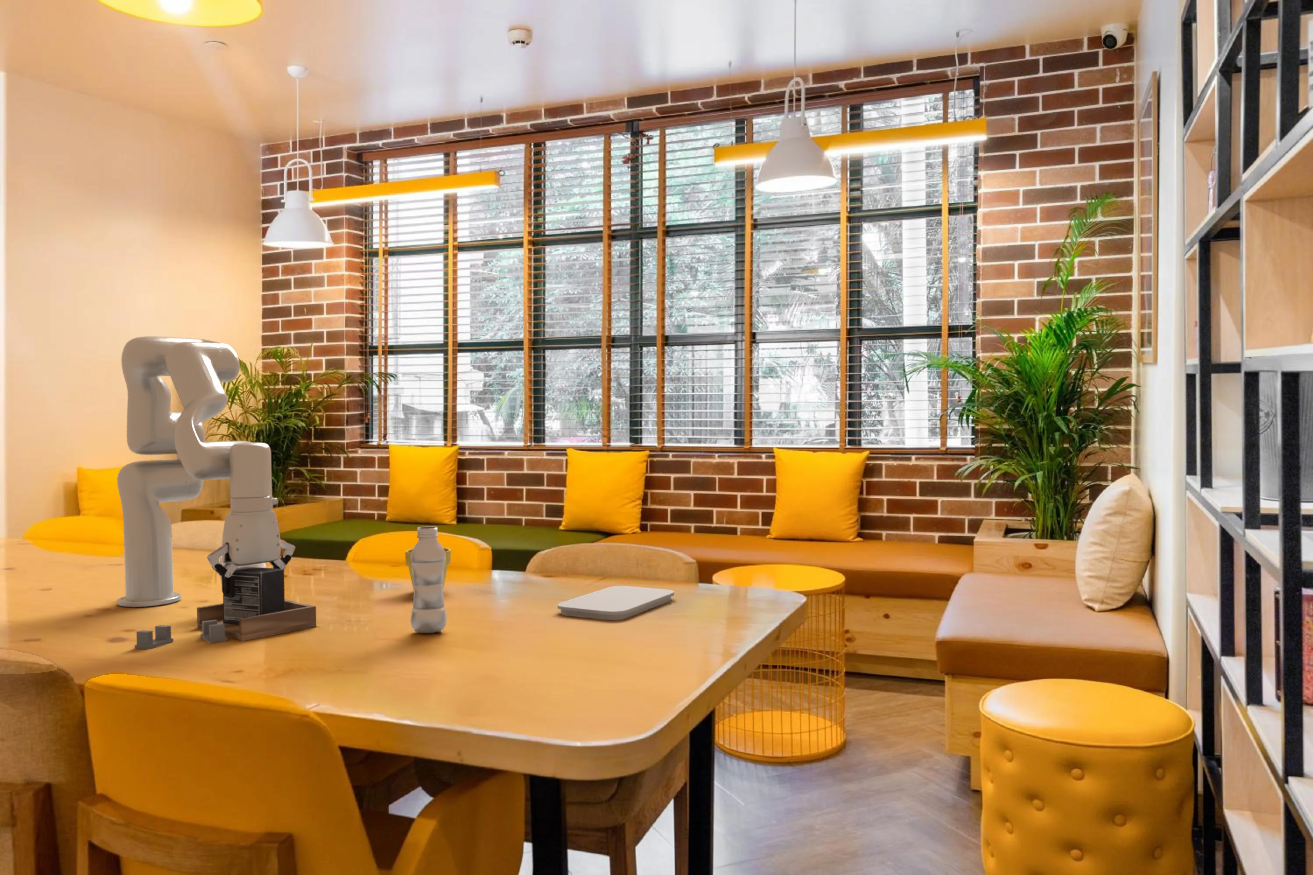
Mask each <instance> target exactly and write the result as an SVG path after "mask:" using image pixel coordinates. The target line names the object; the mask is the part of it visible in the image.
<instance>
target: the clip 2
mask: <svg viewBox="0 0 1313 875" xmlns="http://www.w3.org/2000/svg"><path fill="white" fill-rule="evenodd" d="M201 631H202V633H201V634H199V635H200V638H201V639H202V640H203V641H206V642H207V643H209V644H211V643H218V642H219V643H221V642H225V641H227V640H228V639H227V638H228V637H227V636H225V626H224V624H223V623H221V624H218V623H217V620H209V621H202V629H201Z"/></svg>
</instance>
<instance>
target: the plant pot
mask: <svg viewBox="0 0 1313 875" xmlns="http://www.w3.org/2000/svg"><path fill="white" fill-rule="evenodd" d="M442 547H443V548H444V550H445V553H446V560H445V568H444V577H443V589H444V588H445V583H446V578H447V573H448V569H449V568H448V567H449V565H451V562H452V550H451V548H449V547H444V546H442ZM413 548H414V547H413ZM413 548H410V549H409V548H408V549H406V550H405V554H404V557H405V560H404V561H405V565H406V566H407V567H408V570H409V571H408V572H409V574H410V579H411V584H412V588H413V589H412V590H414V583H413V572H412V565H411V557H410V556H411V552H412V550H413Z"/></svg>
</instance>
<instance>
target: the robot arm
mask: <svg viewBox="0 0 1313 875" xmlns="http://www.w3.org/2000/svg"><path fill="white" fill-rule="evenodd" d="M120 359H121V369H122V374H123V378H124V381H125V384H126V390H127V408H126V409H127V410H126V442H127V446H128V450H130V451H131V452H132V453H133V454H136V455H141V456H142V455H143V456H144V455H145V456H152V455H153V456H156V455H157V456H159V455H161V456H162V455H175V456H176V459H153V460H152V459H151V460H138V461H137V460H136V461H134V462H133V461H132V462H130V463H127V464H125V465H124V466H122V468H121V469H119V471H118V474H117V478H116V480H117V481H116V482H117V484H116V485H117V490H118V493H119V499H120V501H121V502H120V503H121V511H122V520H123V543H124V545H123V546H124V547H123V548H124V550H123V552H124V553H123V554H124V582H125V584H124V585H125V587H124V589H125V595H124V596H122V597H119V598H118V599H117V605H118V606H121V607H127V608H141V607H154V606H156V607H157V606H161V605H168V604H171V603H175V602H178V601H180V600H181V599H182V594H181V593H180V592H176V591H174V568H173V567H174V566H173V563H174V562H173V560H174V558H173V531H172V530H173V528H172V522H171V519H170V517H169V515H168V513H166V511H165V510H164V509H163V507H161V505H160V504H162V503H169V502H170V503H171V502H172V503H173V502H181V501H182V502H183V501H191V500H193V499H196V498H197V497H199V495H200V494H201V492H202V490H203V486H204V481H211V480H226V479H227V480H229V495H230V513H226V514H225V518H224V523H223V524H224V525H223V531H222V542H221V546H220V547H218V548H217V549H215V550H213V551H212V552H210V553H209V554H208V555H207V556H206V558H207V560H208V562H209V564H210V566H211V569H212V570H213V571H215V572H216V573H217V574H218V575H219V576H222V583H221V592H222V594H223V593H224V596H225V597H229V598H233V597H235V578H234V577H232V574H233V572H234V571H235V570H236V568H237V567H238V566H244V565H252V564H259V563H265V564H266V563H269V564H270V565H271V566H272V568H274V569H284V570H285V569H286V567H287V565H288V564H289V562H291V560H292V556H293V554H294V552H295V550H296V546H295V545H294V544H292V543H289V542H286V541H285V540H282V539H281V535H280V527H279V521H278V518H277V514H276V511H275V510H273V509H274V506H275V505H278V504H279V499H278V498H277V497H274V496H273V488H272V487H273V484H272V480H273V479H272V450H271V447H270V446H269V444H268V443H265V442H251V441H248V440H247V441H246V440H225V441H223V440H218V441H206V432H205V427H204V422H206V421H208V420H210V419H212V418H214V417H216V416H217V415H220V414H221V413H222V412H223V411H224V410H225V408H226V407H227V405H228V401H229V400H228V395H227V394H226V391H225V389H224V386H223V384H222V383H229V382H232V381H234V380H235V379H236V378H237V377H238V375H239V373H240V370H241V369H240V367H241V365H240V364H241V362H240V359H239V356H238V353H237V352H236V351H235V349H234V348H233V347H231V345H229V344H228V343H225V342H218V341H214V340H210V339H204V338H203V339H201V338H191V337H189V338H188V337H171V336H151V335H150V336H149V335H148V336H139V337H135V338H132V339H130V340H128V341H127V342H126V343H125V345H124V347H123V349H122V353H121V358H120ZM163 377H170V379H171V382H172V384H173V386H174V389H175V391H176V393H177V396H178V398H179V401H180V403H181V404H182V407H183V410H182V411H172V410H171V404H172V403H171V402H172V394H171V393H172V392H171V390H170V388H169V386H168V384H167V383H166V381H164V379H163ZM281 549H283V550H284V552H283V554H282V555H281V552H282V551H281ZM221 556H222V561H223V562H224V563H225V564H224V565H223V566H222V565H221V564H220V557H221Z"/></svg>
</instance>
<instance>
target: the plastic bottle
mask: <svg viewBox="0 0 1313 875" xmlns="http://www.w3.org/2000/svg"><path fill="white" fill-rule="evenodd" d="M416 531H417V535H416V538H417V539H418V541H417V543H415V545H414V546H413V550H412V552H411V556H410V557H411V565H412V572H413V583H414V589H413V599H412V600H413V601H412V609H411V614H410V624H411V629H413V630H414V632H416V633H420V634H433V633H437V632H441V631H444V629H445V627H446V625H447V620H448V619H447V618H448V617H447V616H448V615H447V609H446V607H445V598H444V588H443V577H444V568H445V560H446V553H445V550H444V548H443V547H444V546H443V545H442V544H441V543H440V542H439V540H438V537H439V532H438V526H429V525H428V526H418V527H417V529H416Z"/></svg>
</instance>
